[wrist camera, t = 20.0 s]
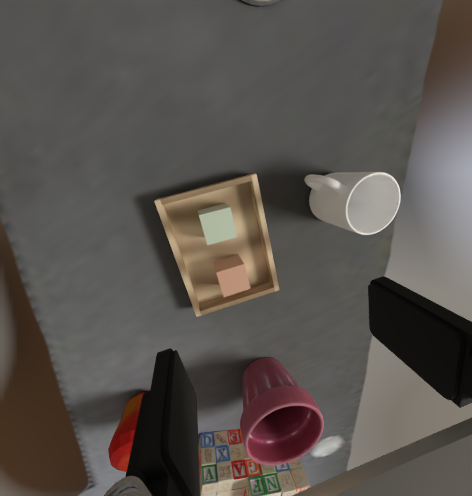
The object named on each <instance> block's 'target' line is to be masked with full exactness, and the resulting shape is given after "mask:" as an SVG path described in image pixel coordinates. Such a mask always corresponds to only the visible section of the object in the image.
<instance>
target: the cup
mask: <svg viewBox="0 0 472 496" xmlns="http://www.w3.org/2000/svg"><path fill="white" fill-rule="evenodd" d="M304 181H305V183H306V184H307V185H308V186H309V187H311V188H312V190H311V192H310V197H309V205H310V208H311V211H312V213H313V214H314V215H315V216H316V217H317V218H318V219H320V220H322V221H324V222H327V223H330V224H333V225H336V226H339V227H341V228H344V229H347V230H350V231H353V232H356V233H359V234H362V235H370V234H374V233H377V232H379V231H381V230H382V229H384V228H385V227H386V226H387V225H388V224H389V223H390V222H391V221H392V220H393V218H394V217H395V215H396V213H397V211H398V208H399V204H400V188H399V186H398V183H397V182H396V180H395V179H394V178H393V177H392V176H391V175H389V174H387V173H383V172H340V173H330V174H327V175H325V176H322V175H314V174H311V175H307V176H306V177H305V179H304Z"/></svg>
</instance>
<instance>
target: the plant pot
mask: <svg viewBox="0 0 472 496" xmlns="http://www.w3.org/2000/svg"><path fill="white" fill-rule="evenodd" d="M323 427H324V422H323V417H322V414H321V412H320V410H319V408H318V407H317V405H316V403H315V401H314V399H313V397H312V396H311V395H310V393H309V392H308V391H306V390H305V389H303V388H301V387H299V385H298V384H297V383H296V382H295V380H294V379H293V378H292V377H291V375H290V374H289V373H288V372H287V371H286V369H285V368H284V367H283V366H282V365H281V363H280V362H279V361H278V360H276V359H274V358H269V357H266V358H260V359H257V360H255V361H254V362H252V363H251V364H250V365H248V367H247V368H246V369H245V371H244V374H243V413H242V416H241V420H240V428H241V434H242V439H243V443H244V447H245V451H246V453H247V455H248V457H249V458H250V459H251V460H253V461H254V462H256V463H258V464H262V465H268V466H273V465H281V464H285V463H288V462H291V461H294V460H296V459H298V458H300V457H301V456H303V455H304V454H306V453H307V452H308V451H310V450H311V449H312V448H313V447H314V445H315V444H316V443H317V442H318V440H319V438H320V436H321V434H322V432H323Z"/></svg>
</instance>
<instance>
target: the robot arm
mask: <svg viewBox="0 0 472 496" xmlns="http://www.w3.org/2000/svg"><path fill="white" fill-rule="evenodd" d="M242 1H244V2H246V3H249V4H251V5H257V6H265V5H271V4H273V3H276V2H278V1H280V0H242ZM368 296H369V325H370V331H371V333H372V334H373V336H374V337H375V338H377V339H378V340H379V341H380V342H381V343H382V344H384V345H385V346H386V347H387V348H388V349H389V350H390V351H391V352H393V353H394V354H395V355H396V356H397V357H398V358H399V359H401V360H402V361H403V362H404V363H405V364H406V365H407V366H409V367H410V368H411V369H412V370H413V371H415V372H416V373H417V374H418V375H419V376H420V377H421V378H422V379H423V380H425V381H426V382H427V383H428V384H429V385H430V386H431V387H433V388H434V389H435V390H436V391H437V392H438V393H439V394H441V395H442V396H443V397H444V398H446V399H448V400H452V401H453V402H454V403H455V404H456V405H457V406H458V407H460V408H461V407H463V406H465V405H468V404H470V403H472V322H471V321H469V320H467V319H465V318H463V317H461V316H459V315H457V314H455V313H453V312H452V311H450V310H447V309H446V308H444V307H442V306H440V305H438V304H436V303H434V302H432V301H431V300H429V299H426V298H425V297H423V296H421V295H419V294H417V293H415V292H413V291H411V290H410V289H408V288H406V287H404V286H402V285H400V284H398V283H396V282H394V281H392V280H390V279H389V278H387V277H380V278H377V279H374V280H372V281H371V282H370V285H369V286H368ZM104 496H200V478H199V450H198V423H197V399H196V394H195V391H194V389H193V386H192V384H191V382H190V380H189V377H188V375H187V373H186V370H185V368H184V366H183V363H182V361H181V359H180V356H179V354H178V352H177V350H175V351H173V350H172V349H171V348H170V349H167V350H164V351H161V352H158V353H157V356H156V362H155V368H154V373H153V379H152V385H151V390H150V391H147V392H145V393H144V394H143V397H142V400H141V405H140V410H139V415H138V419H137V424H136V429H135V434H134V439H133V443H132V448H131V453H130V458H129V463H128V467H127V472H126V477H125V478H123V479H121V480H119V481H118V482H116V483H115V484H114V485H113V486H112V487H111V488H110V489H109V490H108V491H107V492H106V494H105V495H104ZM292 496H472V418H470V419H468V420H465V421H463V422H460V423H458V424H456V425H453V426H451V427H449V428H446V429H444V430H442V431H439V432H437V433H434V434H432V435H430V436H427V437H425V438H423V439H420V440H418V441H416V442H413V443H411V444H409V445H407V446H404V447H402V448H400V449H397V450H395V451H393V452H390V453H388V454H386V455H383V456H381V457H379V458H377V459H374V460H372V461H370V462H367V463H365V464H363V465H360V466H358V467H356V468H354V469H351V470H349V471H347V472H344V473H342V474H340V475H338V476H335V477H333V478H331V479H328V480H326V481H324V482H322V483H319V484H317V485H315V486H313V487H310V488H308V489H306V490H304V491H301V492H299V493H297V494H294V495H292Z"/></svg>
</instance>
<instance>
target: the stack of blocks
mask: <svg viewBox="0 0 472 496" xmlns="http://www.w3.org/2000/svg"><path fill="white" fill-rule="evenodd" d="M198 450H199V478H200V496H292V495H294V494H297V493H299V492H301V491H304V490H306V489H308V488H310V484H309V482H308V479H307V477H306V475H305V472H304V470H303V466H302V464H301V461H300V459H299V458H298V459H296V460H294V461H291V462H288V463H285V464H281V465H273V466H268V465H262V464H258V463H256V462H254V461H253V460H251V459H250V458H249V457H248V455H247V453H246V451H245V447H244V443H243V439H242V434H241V429H239V430H229V431H218V432H208V433H200V439H199V445H198Z"/></svg>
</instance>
